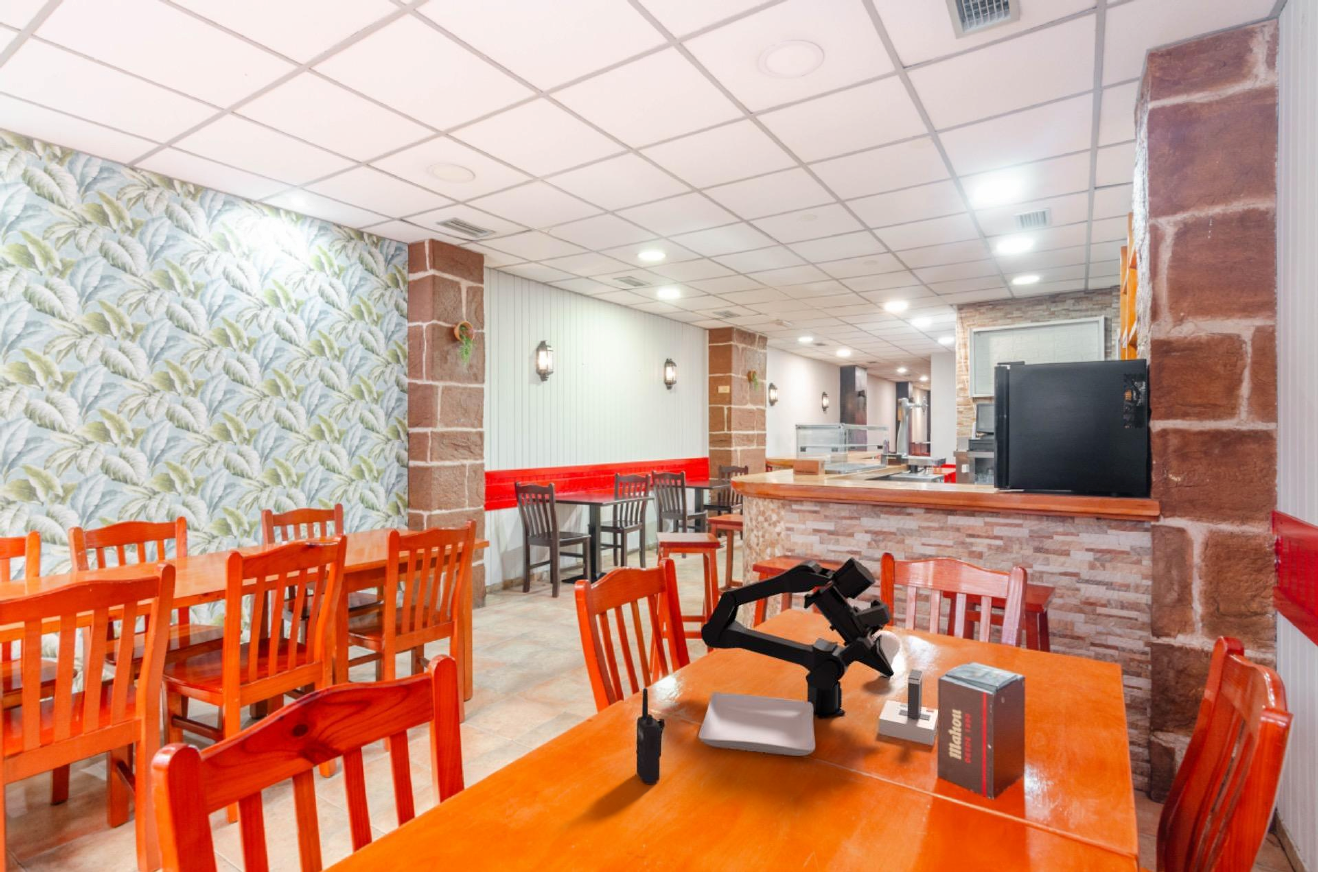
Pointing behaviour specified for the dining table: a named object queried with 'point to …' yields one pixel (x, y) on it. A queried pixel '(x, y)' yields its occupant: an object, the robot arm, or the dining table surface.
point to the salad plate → (759, 724)
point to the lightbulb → (889, 646)
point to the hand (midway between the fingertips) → (892, 675)
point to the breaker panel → (908, 723)
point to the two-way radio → (648, 744)
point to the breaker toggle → (915, 694)
